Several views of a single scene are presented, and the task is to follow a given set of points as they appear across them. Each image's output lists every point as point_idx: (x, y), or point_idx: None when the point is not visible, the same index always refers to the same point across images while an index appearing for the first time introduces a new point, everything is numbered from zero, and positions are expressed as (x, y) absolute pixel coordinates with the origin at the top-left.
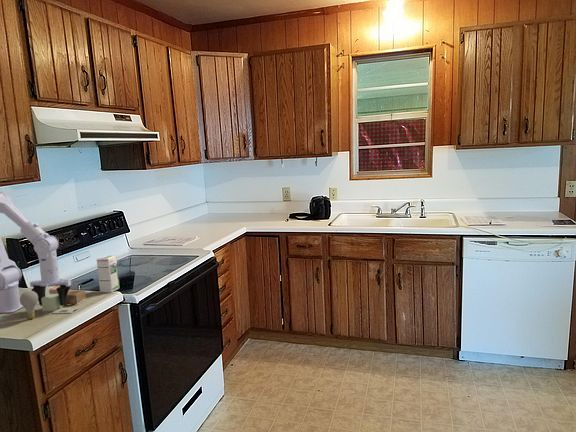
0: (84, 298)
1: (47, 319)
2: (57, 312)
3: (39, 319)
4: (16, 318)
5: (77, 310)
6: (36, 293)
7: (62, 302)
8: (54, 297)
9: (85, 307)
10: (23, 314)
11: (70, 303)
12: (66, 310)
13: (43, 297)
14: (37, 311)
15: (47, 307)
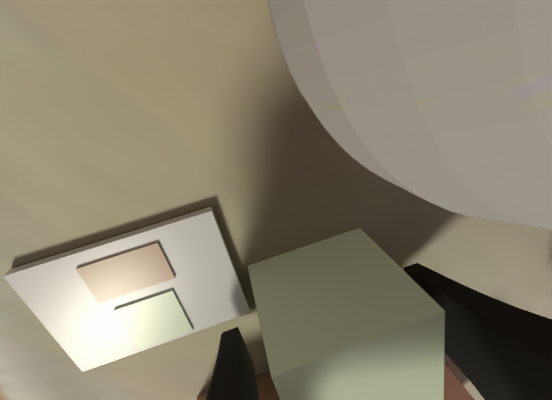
0: None
1: (89, 53)
2: (161, 231)
3: (194, 33)
4: None
5: (48, 336)
6: (525, 176)
7: (218, 363)
8: (294, 387)
9: (59, 396)
10: None
11: None
12: (113, 291)
13: (439, 337)
14: (401, 211)
15: (330, 261)
